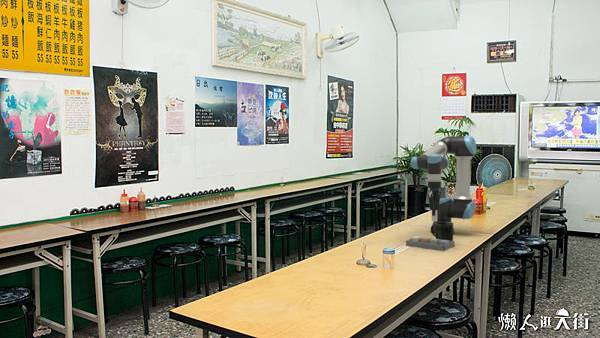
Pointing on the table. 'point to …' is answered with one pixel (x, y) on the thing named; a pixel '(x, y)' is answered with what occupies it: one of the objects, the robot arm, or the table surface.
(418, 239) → the key ivory
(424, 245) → the grey compartment rack
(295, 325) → the table surface
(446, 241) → the key slate
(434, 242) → the key sage
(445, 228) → the mug
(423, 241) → the block
